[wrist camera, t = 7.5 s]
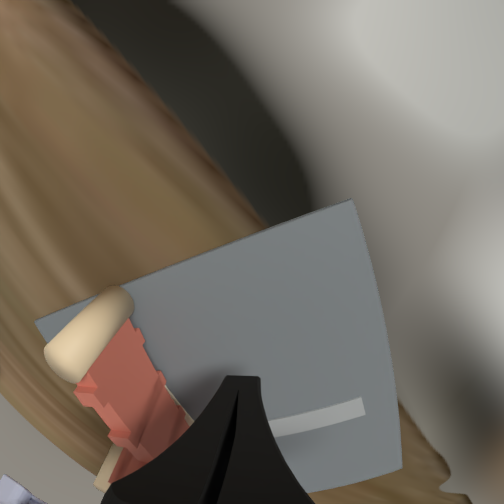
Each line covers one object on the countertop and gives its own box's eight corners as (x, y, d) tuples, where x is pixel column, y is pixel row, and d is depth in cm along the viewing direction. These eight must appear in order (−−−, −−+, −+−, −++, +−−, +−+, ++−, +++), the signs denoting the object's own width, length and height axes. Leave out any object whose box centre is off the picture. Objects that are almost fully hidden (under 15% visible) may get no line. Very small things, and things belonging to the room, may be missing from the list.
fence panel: (199, 427, 16) (181, 492, 11) (174, 426, 16) (153, 488, 12) (125, 282, 13) (65, 343, 8) (97, 288, 13) (36, 345, 8)
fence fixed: (203, 425, 17) (182, 502, 11) (217, 441, 17) (201, 514, 12) (113, 429, 18) (85, 486, 13) (128, 444, 19) (103, 499, 13)
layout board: (401, 465, 18) (402, 469, 17) (199, 497, 22) (198, 500, 21) (351, 198, 11) (353, 199, 11) (36, 319, 15) (32, 322, 15)
